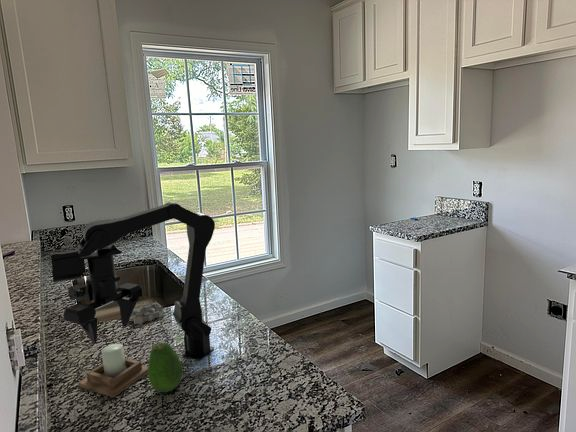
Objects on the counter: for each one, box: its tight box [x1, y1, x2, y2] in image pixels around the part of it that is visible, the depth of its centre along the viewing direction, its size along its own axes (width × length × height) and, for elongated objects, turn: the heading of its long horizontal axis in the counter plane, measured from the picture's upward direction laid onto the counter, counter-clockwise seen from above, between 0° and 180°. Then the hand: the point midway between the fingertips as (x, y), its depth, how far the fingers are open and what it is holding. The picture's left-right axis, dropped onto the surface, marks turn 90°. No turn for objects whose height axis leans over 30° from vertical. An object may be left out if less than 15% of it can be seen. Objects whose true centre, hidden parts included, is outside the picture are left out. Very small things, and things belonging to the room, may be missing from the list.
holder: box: [77, 357, 149, 398], centre depth 99 cm, size 12×12×3 cm
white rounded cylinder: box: [101, 343, 126, 378], centre depth 99 cm, size 5×5×7 cm
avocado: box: [147, 342, 184, 393], centre depth 93 cm, size 8×8×12 cm
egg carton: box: [129, 301, 166, 325], centre depth 135 cm, size 11×8×4 cm
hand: (110, 334), depth 98 cm, fingers open, 9 cm apart
